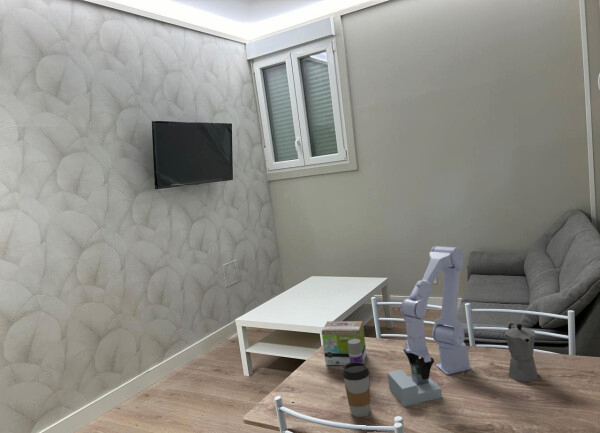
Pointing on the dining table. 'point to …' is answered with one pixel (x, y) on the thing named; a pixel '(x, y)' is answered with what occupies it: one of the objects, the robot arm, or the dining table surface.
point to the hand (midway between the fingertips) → (420, 373)
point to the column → (417, 374)
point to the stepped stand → (412, 389)
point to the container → (355, 350)
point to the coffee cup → (357, 388)
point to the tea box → (341, 340)
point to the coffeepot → (521, 353)
